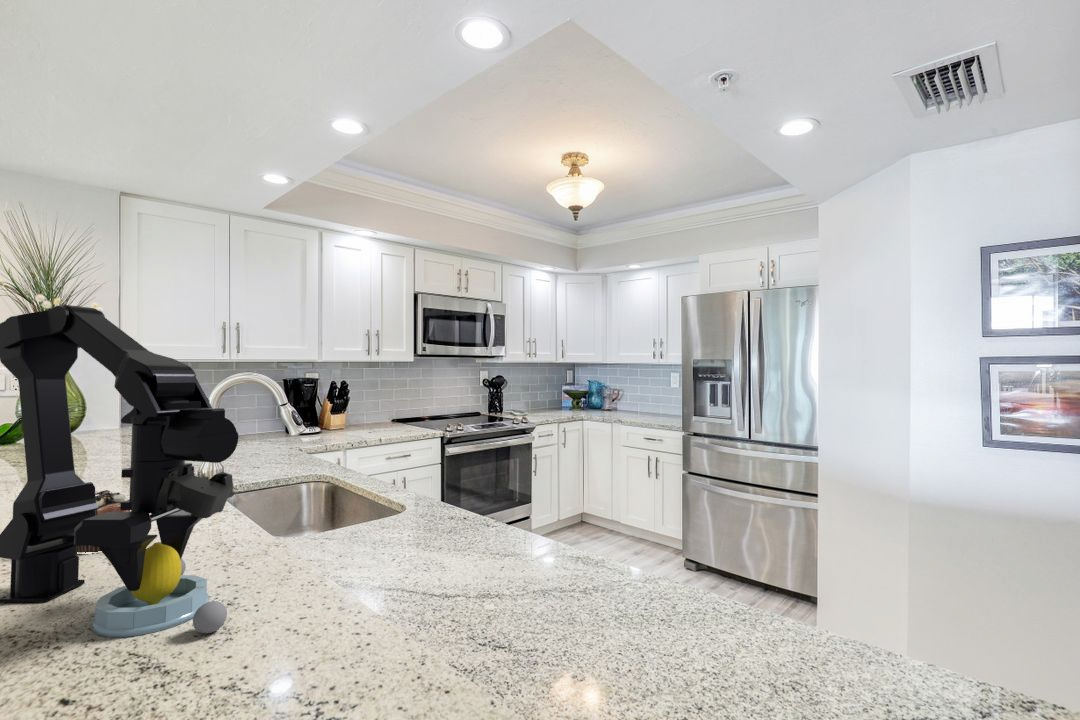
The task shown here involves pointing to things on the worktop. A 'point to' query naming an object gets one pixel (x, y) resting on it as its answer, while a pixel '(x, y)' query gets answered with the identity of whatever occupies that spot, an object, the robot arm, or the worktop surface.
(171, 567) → the lemon
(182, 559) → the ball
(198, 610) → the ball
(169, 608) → the dish
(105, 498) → the cupcake
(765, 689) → the worktop surface
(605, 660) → the worktop surface
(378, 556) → the worktop surface
